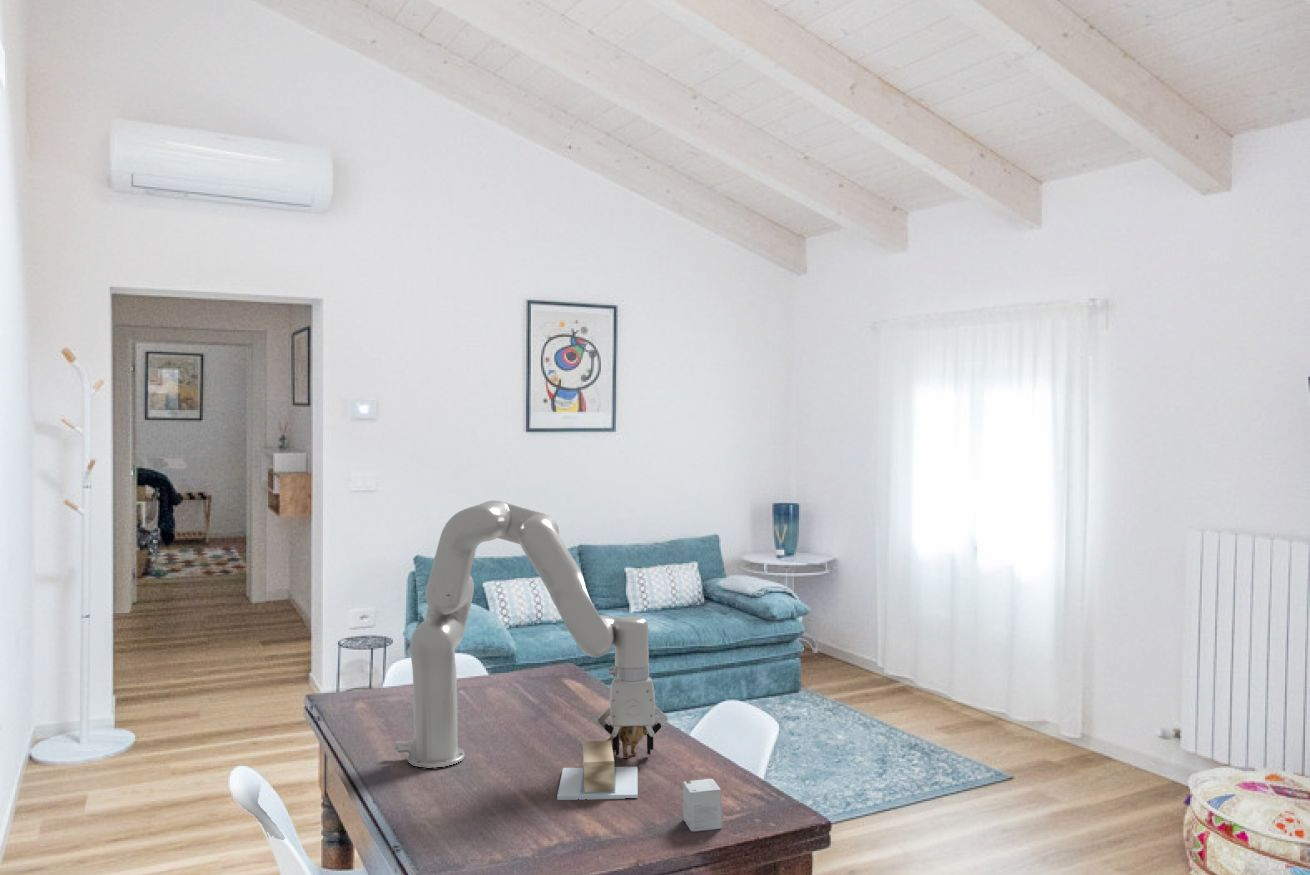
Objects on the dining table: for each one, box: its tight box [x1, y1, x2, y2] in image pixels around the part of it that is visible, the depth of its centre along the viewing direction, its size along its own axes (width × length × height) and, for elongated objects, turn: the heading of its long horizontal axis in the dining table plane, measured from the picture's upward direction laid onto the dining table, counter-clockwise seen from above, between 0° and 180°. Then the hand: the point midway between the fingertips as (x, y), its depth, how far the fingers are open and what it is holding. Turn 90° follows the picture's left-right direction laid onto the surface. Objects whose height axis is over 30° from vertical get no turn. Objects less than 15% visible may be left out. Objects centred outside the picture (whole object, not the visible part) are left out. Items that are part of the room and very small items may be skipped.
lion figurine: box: [605, 723, 648, 759], centre depth 224 cm, size 15×5×9 cm, turn 38°
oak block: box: [582, 739, 615, 792], centre depth 204 cm, size 6×13×6 cm, turn 6°
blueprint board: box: [556, 766, 639, 801], centre depth 204 cm, size 16×16×1 cm
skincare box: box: [682, 778, 723, 832], centre depth 184 cm, size 6×6×7 cm
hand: (633, 752), depth 221 cm, fingers closed on lion figurine, 6 cm apart
